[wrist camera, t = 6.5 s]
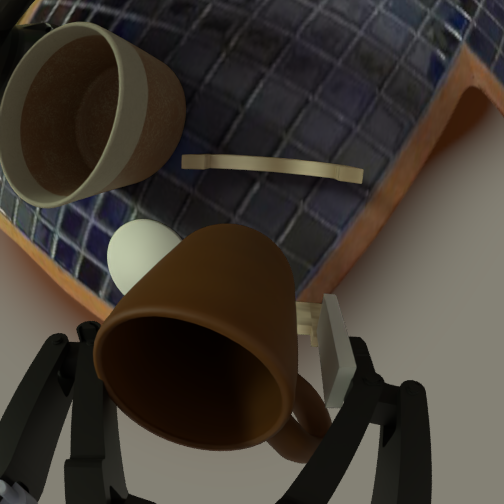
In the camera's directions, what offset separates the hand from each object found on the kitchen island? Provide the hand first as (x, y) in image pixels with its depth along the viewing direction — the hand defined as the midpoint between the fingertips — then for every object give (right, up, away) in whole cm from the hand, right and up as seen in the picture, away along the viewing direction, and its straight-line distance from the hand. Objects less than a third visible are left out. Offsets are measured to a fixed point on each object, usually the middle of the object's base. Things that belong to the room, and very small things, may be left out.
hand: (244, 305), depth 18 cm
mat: (-12, +2, +17) cm, 21 cm away
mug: (+1, 0, 0) cm, 1 cm away
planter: (-14, +19, +12) cm, 26 cm away
